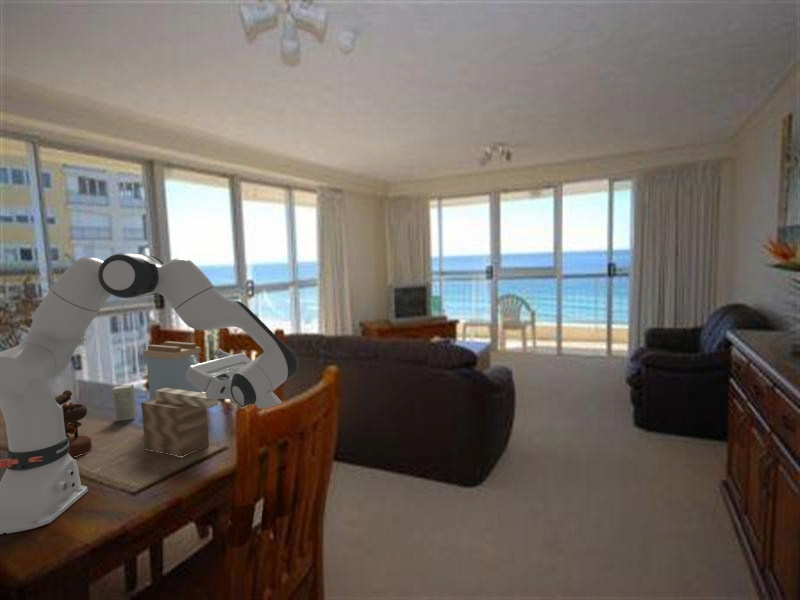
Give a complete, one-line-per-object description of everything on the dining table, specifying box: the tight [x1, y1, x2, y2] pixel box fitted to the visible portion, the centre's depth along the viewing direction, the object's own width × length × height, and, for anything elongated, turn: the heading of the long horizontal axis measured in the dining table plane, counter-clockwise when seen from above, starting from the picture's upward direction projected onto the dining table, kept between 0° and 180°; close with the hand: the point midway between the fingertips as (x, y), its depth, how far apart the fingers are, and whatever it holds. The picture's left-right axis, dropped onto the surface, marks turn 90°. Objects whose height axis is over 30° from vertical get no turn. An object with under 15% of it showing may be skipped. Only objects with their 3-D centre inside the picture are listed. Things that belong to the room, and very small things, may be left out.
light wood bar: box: [156, 388, 219, 409], centre depth 140 cm, size 22×4×3 cm, turn 65°
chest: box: [143, 340, 203, 400], centre depth 164 cm, size 15×11×28 cm
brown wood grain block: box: [141, 398, 210, 456], centre depth 143 cm, size 16×10×15 cm, turn 65°
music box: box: [54, 389, 93, 457], centre depth 142 cm, size 15×11×20 cm
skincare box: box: [111, 383, 138, 422], centre depth 171 cm, size 6×4×12 cm
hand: (204, 354), depth 134 cm, fingers open, 8 cm apart
